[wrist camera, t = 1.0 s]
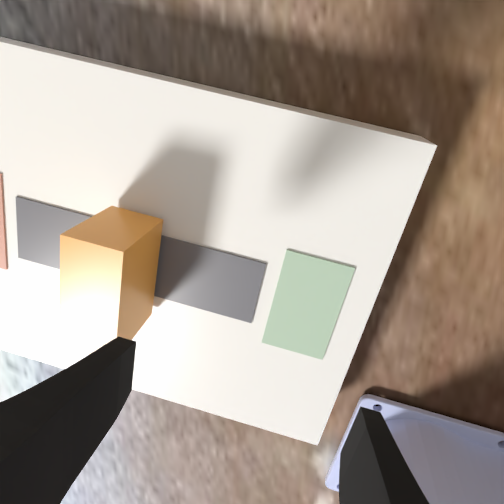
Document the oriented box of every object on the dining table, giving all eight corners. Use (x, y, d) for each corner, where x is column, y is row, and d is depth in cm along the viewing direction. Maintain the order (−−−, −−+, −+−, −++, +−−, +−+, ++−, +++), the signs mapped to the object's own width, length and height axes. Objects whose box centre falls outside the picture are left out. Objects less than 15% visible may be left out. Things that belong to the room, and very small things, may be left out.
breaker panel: (420, 136, 17) (437, 145, 14) (318, 404, 24) (317, 446, 21) (-40, 27, 19) (-105, 16, 16) (-15, 306, 26) (-58, 333, 23)
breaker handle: (163, 219, 17) (123, 252, 14) (151, 313, 19) (114, 362, 16) (111, 205, 17) (59, 234, 14) (105, 300, 19) (59, 345, 16)
